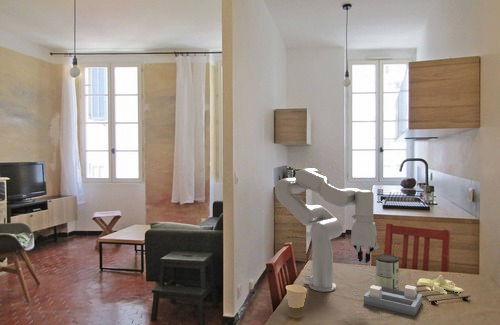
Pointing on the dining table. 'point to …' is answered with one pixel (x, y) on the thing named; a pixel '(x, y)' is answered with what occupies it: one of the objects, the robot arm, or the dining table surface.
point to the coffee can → (387, 271)
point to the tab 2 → (410, 291)
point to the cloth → (439, 285)
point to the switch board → (395, 301)
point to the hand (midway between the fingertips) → (364, 261)
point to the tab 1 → (375, 291)
